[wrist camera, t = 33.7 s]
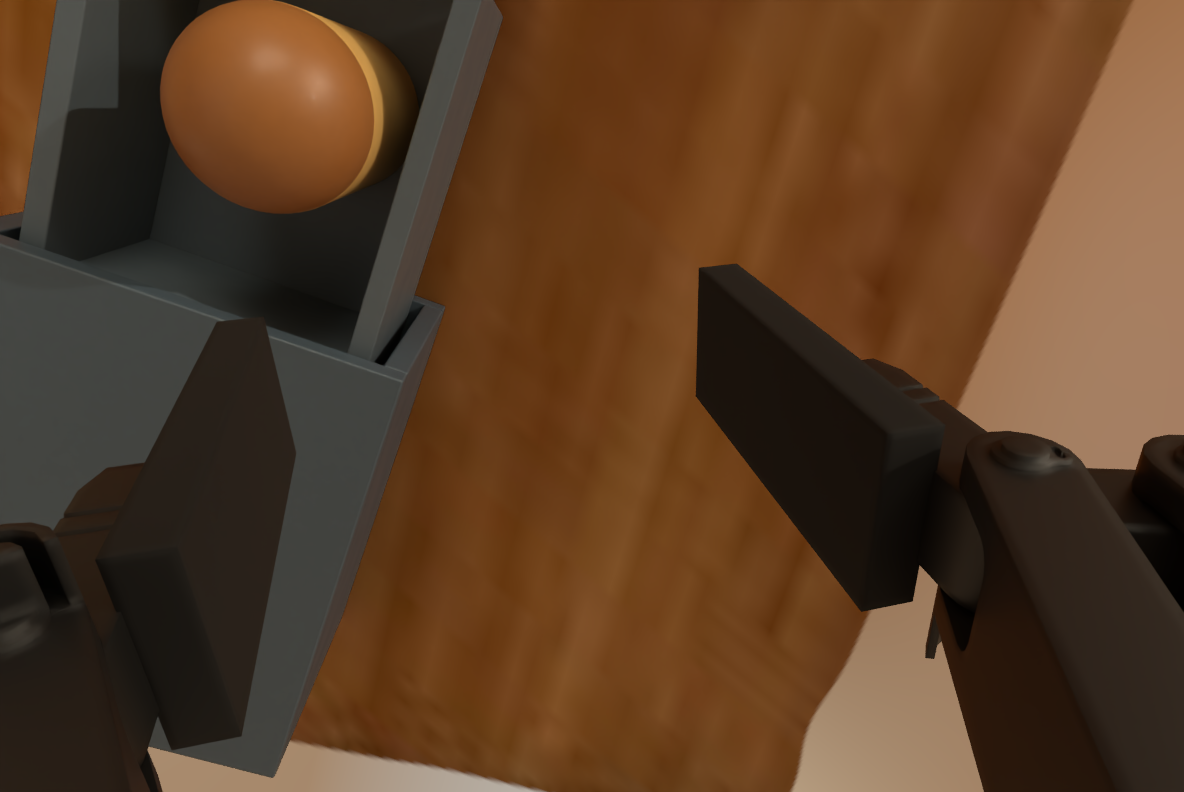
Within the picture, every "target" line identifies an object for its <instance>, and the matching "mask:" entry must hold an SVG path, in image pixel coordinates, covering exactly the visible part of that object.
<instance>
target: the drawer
mask: <svg viewBox="0 0 1184 792" xmlns="http://www.w3.org/2000/svg"><path fill="white" fill-rule="evenodd" d="M234 1H238V0H57V2H56V9H55V15H54V22H53V28H52V34H51V41H50V47H49V53H48V60H47V66H46V73H45V79H44V85H43V92H42V98H41V104H40V111H39V117H38V124H37V130H36V136H35V143H34V149H33V155H32V162H31V168H30V175H29V181H28V187H27V194H26V200H25V207H24V213H23V219H22V226H21V232H20V238H19V241H21V242H24V243H27V244H30V245H33V246H35V247H38V248H41V249H44V250H47V251H50V252H53V253H56V254H59V255H62V256H65V257H68V258H70V259H73V260H76V261H79V262H82V263H85V264H88V265H91V266H94V267H97V268H100V269H103V270H105V271H108V272H111V273H114V274H117V275H120V276H123V277H126V278H129V279H132V280H135V281H138V282H141V283H143V284H146V285H149V286H152V287H155V288H158V289H161V290H164V291H167V292H170V293H173V294H176V295H178V296H181V297H184V298H187V299H190V300H193V301H196V302H199V303H202V304H205V305H208V306H211V307H213V308H216V309H219V310H222V311H225V312H228V313H231V314H234V315H237V316H240V317H243V318H254V317H263V316H264V320H265V324H266V326H269V327H272V328H275V329H278V330H281V331H284V332H286V333H289V334H292V335H295V336H298V337H301V338H304V339H307V340H310V341H313V342H316V343H319V344H321V345H324V346H327V347H330V348H333V349H336V350H339V351H342V352H345V353H348V354H351V355H354V356H357V357H359V358H362V359H365V360H368V361H371V362H374V363H377V364H380V365H383V363H384V362H385V360H386V359H387V357H388V356H389V354H390V353H391V351H392V350H393V348H394V347H395V345H396V344H397V342H398V341H399V339H400V338H401V335H402V332H403V329H404V325H405V322H406V319H407V316H408V313H409V310H410V307H411V304H412V300H413V297H414V294H415V291H416V288H417V285H418V282H419V279H420V275H421V272H422V269H423V266H424V263H425V260H426V257H427V254H428V251H429V247H430V244H431V241H432V238H433V235H434V232H435V229H436V226H437V222H438V219H439V216H440V213H441V210H442V207H443V204H444V201H445V197H446V194H447V191H448V188H449V185H450V182H451V179H452V176H453V172H454V169H455V166H456V163H457V160H458V157H459V154H460V151H461V147H462V144H463V141H464V138H465V135H466V132H467V129H468V126H469V122H470V119H471V116H472V113H473V110H474V107H475V104H476V101H477V97H478V94H479V91H480V88H481V85H482V82H483V79H484V76H485V72H486V69H487V66H488V63H489V60H490V57H491V54H492V51H493V47H494V44H495V41H496V38H497V35H498V32H499V29H500V26H501V23H502V19H503V16H502V14H501V12H500V11H499V9H498V7H497V5H496V4H495V2H494V0H273V1H279V2H284V3H287V4H290V5H293V6H296V7H299V8H301V9H304V10H307V11H309V12H312V13H314V14H317V15H319V16H322V17H324V18H327V19H330V20H332V21H335V22H337V23H340V24H342V25H345V26H348V27H350V28H353V29H355V30H358V31H360V32H363V33H365V34H367V35H369V36H371V37H373V38H375V39H376V40H378V41H379V42H381V43H382V44H383V45H385V46H386V47H387V48H388V49H390V50H391V51H392V53H393V54H394V55H395V56H396V57H397V58H398V59H399V60H400V62H401V63H402V64H403V66H404V67H405V69H406V71H407V72H408V74H409V76H410V78H411V81H412V83H413V85H414V88H415V91H416V95H417V100H418V106H419V115H418V119H417V122H416V125H415V129H414V132H413V135H412V139H411V142H410V145H409V149H408V152H407V155H406V159H405V161H404V163H403V164H402V165H401V166H400V167H399V168H398V169H397V170H396V171H395V172H394V173H393V174H392V175H390V176H389V177H387V178H386V179H384V180H382V181H381V182H378V183H376V184H373V185H371V186H369V187H366V188H364V189H361V190H359V191H357V192H354V193H352V194H349V195H347V196H345V197H342V198H340V199H337V200H335V201H333V202H330V203H328V204H325V205H323V206H320V207H318V208H316V209H313V210H309V211H305V212H299V213H291V214H273V213H267V212H260V211H256V210H253V209H249V208H245V207H242V206H240V205H238V204H235V203H233V202H231V201H229V200H227V199H225V198H223V197H222V196H220V195H218V194H217V193H216V192H214V191H213V190H211V189H210V188H209V187H207V186H206V185H205V184H204V183H203V182H201V181H200V180H199V179H198V178H197V177H196V176H195V175H194V174H193V173H192V172H191V170H190V169H189V168H188V167H187V166H186V165H185V163H184V162H183V160H182V159H181V158H180V156H179V155H178V153H177V151H176V149H175V148H174V146H173V144H172V142H171V140H170V137H169V135H168V132H167V130H166V127H165V123H164V119H163V116H162V109H161V102H160V85H161V76H162V71H163V67H164V63H165V61H166V58H167V56H168V53H169V51H170V49H171V47H172V46H173V44H174V42H175V40H176V39H177V38H178V36H179V35H180V34H181V33H182V32H183V30H184V29H185V28H186V27H187V26H188V25H189V24H190V23H191V22H192V21H194V20H195V19H196V18H197V17H199V16H200V15H202V14H203V13H205V12H206V11H208V10H210V9H213V8H215V7H217V6H219V5H223V4H226V3H230V2H234Z"/></svg>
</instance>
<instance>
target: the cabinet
mask: <svg viewBox="0 0 1184 792" xmlns="http://www.w3.org/2000/svg"><path fill="white" fill-rule="evenodd" d="M23 213H24V212H20V213H15V214H10V215H5V216H0V525H2V524H8V523H27V522H32V523H36V524H40V525H44V526H48V527H50V528H51V529H52V531H53V530H54V528H55V527H56V525H57V523H58V522H59V520H60V519H62V518H64V515H63V514H64V512H65V510H66V509H67V507H68V506H69V504H70V502H71V501H72V499H73V498H74V496H75V494H76V493H77V491H78V490H79V489H80V488H82V487H83V486H84V485H85V484H87V483H88V482H89V481H91V480H92V479H93V478H94V477H96V476H97V475H98V474H99V473H101V472H102V471H103V470H105V469H106V468H108V467H116V466H123V465H130V464H137V463H144V462H145V461H146V459H147V457H148V455H149V453H150V451H151V449H152V447H153V445H154V444H155V442H156V440H157V438H158V436H159V434H160V432H161V430H162V428H163V426H164V424H165V422H166V420H167V418H168V416H169V414H170V412H171V410H172V408H173V406H174V404H175V402H176V401H177V399H178V397H179V395H180V393H181V391H182V389H183V387H184V385H185V383H186V381H187V379H188V377H189V375H190V373H191V371H192V369H193V367H194V365H195V363H196V361H197V360H198V358H199V356H200V354H201V352H202V350H203V348H204V346H205V344H206V342H207V340H208V338H209V336H210V334H211V332H212V330H213V328H214V326H215V324H216V322H219V321H228V320H237V319H245V318H243V317H240V316H237V315H234V314H231V313H228V312H225V311H222V310H219V309H216V308H213V307H211V306H208V305H205V304H202V303H199V302H196V301H193V300H190V299H187V298H184V297H181V296H178V295H176V294H173V293H170V292H167V291H164V290H161V289H158V288H155V287H152V286H149V285H146V284H143V283H141V282H138V281H135V280H132V279H129V278H126V277H123V276H120V275H117V274H114V273H111V272H108V271H105V270H103V269H100V268H97V267H94V266H91V265H88V264H85V263H82V262H79V261H76V260H73V259H70V258H68V257H65V256H62V255H59V254H56V253H53V252H50V251H47V250H44V249H41V248H38V247H35V246H33V245H30V244H27V243H24V242H21V241H19V238H20V232H21V226H22V219H23ZM444 310H445V306H443V305H440V304H437V303H435V302H432V301H429V300H426V299H423V298H421V297H418V296H415V295H414V297H413V300H412V304H411V307H410V310H409V313H408V316H407V319H406V322H405V325H404V329H403V332H402V335H401V338H400V339H399V341H398V342H397V344H396V345H395V347H394V348H393V350H392V351H391V353H390V354H389V356H388V357H387V359H386V360H385V362H384V363H383V365H380V364H377V363H374V362H371V361H368V360H365V359H362V358H359V357H357V356H354V355H351V354H348V353H345V352H342V351H339V350H336V349H333V348H330V347H327V346H324V345H321V344H319V343H316V342H313V341H310V340H307V339H304V338H301V337H298V336H295V335H292V334H289V333H286V332H284V331H281V330H278V329H275V328H272V327H269V326H266V328H267V332H268V336H269V341H270V345H271V349H272V353H273V357H274V361H275V366H276V370H277V374H278V378H279V382H280V386H281V391H282V395H283V399H284V403H285V407H286V412H287V416H288V420H289V424H290V428H291V432H292V437H293V441H294V445H295V449H296V458H295V463H294V468H293V473H292V478H291V484H290V489H289V494H288V499H287V504H286V509H285V515H284V520H283V525H282V530H281V535H280V541H279V546H278V551H277V556H276V561H275V566H274V572H273V577H272V582H271V587H270V592H269V597H268V603H267V608H266V613H265V618H264V623H263V628H262V634H261V639H260V644H259V649H258V654H257V659H256V665H255V670H254V675H253V680H252V685H251V690H250V696H249V701H248V706H247V711H246V716H245V721H244V727H243V732H242V736H241V737H236V738H231V739H226V740H221V741H216V742H211V743H206V744H201V745H196V746H191V747H186V748H181V749H176V750H171V748H170V745H169V743H168V740H167V738H166V735H165V733H164V731H163V728H162V726H161V723H160V721H159V718H158V717H157V720H156V724H155V727H154V730H153V733H152V736H151V740H150V743H149V747H153V748H157V749H160V750H164V751H168V752H173V753H176V754H180V755H184V756H188V757H192V758H196V759H200V760H204V761H208V762H212V763H216V764H220V765H223V766H227V767H231V768H235V769H239V770H243V771H247V772H251V773H255V774H259V775H263V776H267V777H271V778H273V777H274V776H275V774H276V772H277V769H278V767H279V765H280V762H281V759H282V758H283V755H284V753H285V751H286V748H287V746H288V744H289V741H290V739H291V736H292V734H293V732H294V729H295V727H296V725H297V722H298V720H299V717H300V715H301V713H302V710H303V708H304V706H305V703H306V701H307V699H308V696H309V694H310V691H311V689H312V687H313V684H314V682H315V680H316V677H317V675H318V672H319V670H320V668H321V665H322V663H323V661H324V658H325V656H326V654H327V651H328V649H329V646H330V644H331V642H332V639H333V637H334V635H335V632H336V630H337V627H338V625H339V623H340V620H341V618H342V615H343V612H344V609H345V606H346V603H347V600H348V597H349V594H350V591H351V588H352V585H353V582H354V579H355V576H356V573H357V570H358V567H359V564H360V561H361V558H362V555H363V552H364V549H365V546H366V543H367V540H368V537H369V534H370V531H371V528H372V525H373V522H374V519H375V516H376V514H377V511H378V508H379V505H380V502H381V499H382V496H383V493H384V490H385V487H386V484H387V481H388V478H389V475H390V472H391V469H392V466H393V463H394V460H395V457H396V454H397V451H398V448H399V445H400V442H401V439H402V436H403V433H404V430H405V427H406V424H407V421H408V418H409V415H410V412H411V409H412V406H413V403H414V400H415V397H416V394H417V391H418V388H419V385H420V382H421V379H422V376H423V373H424V370H425V367H426V364H427V361H428V358H429V355H430V352H431V349H432V346H433V343H434V340H435V337H436V334H437V331H438V328H439V325H440V322H441V319H442V316H443V313H444Z"/></svg>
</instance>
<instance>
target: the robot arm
mask: <svg viewBox="0 0 1184 792" xmlns="http://www.w3.org/2000/svg"><path fill="white" fill-rule="evenodd" d="M696 397H697V398H698V400H699V401H700V402H701V403H702V405H703V406H704V407H705V409H706V410H707V411H708V413H709V414H710V415H711V417H712V418H713V419H714V420H715V422H716V423H717V424H718V426H719V427H720V428H721V430H722V431H723V432H724V433H725V435H726V436H727V437H728V439H729V440H730V441H731V443H732V444H733V445H734V446H735V448H736V449H737V450H738V452H739V453H740V454H741V456H742V457H743V458H744V459H745V461H746V462H747V463H748V465H749V466H750V467H751V469H752V470H753V471H754V473H755V474H756V475H757V476H758V478H759V479H760V480H761V482H762V483H763V484H764V486H765V487H766V488H767V489H768V491H769V492H770V493H771V495H772V496H773V497H774V499H775V500H776V501H777V502H778V504H779V505H780V506H781V508H782V509H783V510H784V512H785V513H786V514H787V515H788V517H789V518H790V519H791V521H792V522H793V523H794V525H795V526H796V527H797V529H798V530H799V531H800V532H801V534H802V535H803V536H804V538H805V539H806V540H807V542H808V543H809V544H810V545H811V547H812V548H813V549H814V551H815V552H816V553H817V555H818V556H819V557H820V558H821V560H822V561H823V562H824V564H825V565H826V566H827V568H828V569H829V570H830V571H831V573H832V574H833V575H834V577H835V578H836V579H837V581H838V582H839V583H840V585H841V586H842V587H843V588H844V590H845V591H846V592H847V594H848V595H849V596H850V598H851V599H852V600H853V601H854V603H855V604H856V605H857V607H858V608H859V609H860V611H861V612H862V611H867V610H872V609H877V608H882V607H887V606H892V605H897V604H902V603H907V602H912V601H913V597H914V591H915V586H916V580H917V575H918V570H919V565H920V566H921V567H922V568H923V569H924V570H925V571H926V572H927V573H928V574H929V575H930V576H931V578H932V579H933V580H934V581H935V582H936V583H937V584H938V588H937V593H936V598H935V603H934V608H933V613H932V618H931V623H930V628H929V633H928V638H927V642H926V657H925V658H931V659H934V657H935V653H936V647H937V645H938V644H939V643H940V642H941V641H942V644H943V647H944V651H945V654H946V658H947V662H948V665H949V669H950V672H951V676H952V679H953V683H954V687H955V690H956V694H957V697H958V701H959V704H960V708H961V711H962V715H963V719H964V721H965V725H966V729H967V733H968V736H969V740H970V743H971V746H972V750H973V754H974V757H975V761H976V765H977V768H978V772H979V775H980V779H981V782H982V786H983V790H984V792H1184V435H1165V436H1160V437H1155V438H1152V439H1150V440H1149V441H1148V442H1147V443H1145V444H1144V446H1143V449H1142V452H1141V455H1140V458H1139V461H1138V464H1137V467H1136V470H1124V469H1092V468H1086V467H1085V466H1084V464H1083V463H1082V461H1081V460H1080V459H1079V458H1078V457H1077V456H1076V455H1075V454H1073V453H1072V451H1070V450H1069V449H1067V448H1065V447H1064V446H1061V445H1059V444H1058V443H1056V442H1054V441H1052V440H1048V439H1045V438H1042V437H1038V436H1035V435H1032V434H1026V433H1019V432H1011V431H1002V432H986V431H985V430H984V429H982V428H981V427H980V426H978V425H977V424H976V423H974V422H973V421H971V420H970V419H969V418H967V417H966V416H965V415H963V414H962V413H960V412H959V411H958V410H956V409H955V408H954V407H952V406H951V405H950V404H948V403H947V402H945V401H944V400H939V396H937V395H936V394H935V393H933V392H932V391H930V390H929V389H928V388H923V385H922V384H921V383H919V382H918V381H917V380H915V379H914V378H913V377H911V376H910V375H909V374H907V373H906V372H904V371H903V370H901V369H899V368H896V367H893V366H891V365H888V364H886V363H883V362H881V361H878V360H875V359H867V360H861V359H859V358H858V357H857V356H855V355H854V354H853V353H851V352H850V351H849V350H848V349H846V348H845V347H844V346H842V345H841V344H840V343H839V342H837V341H836V340H835V339H833V338H832V337H831V336H829V335H828V334H827V333H826V332H824V331H823V330H822V329H820V328H819V327H818V326H817V325H815V324H814V323H813V322H811V321H810V320H809V319H808V318H806V317H805V316H804V315H802V314H801V313H800V312H798V311H797V310H796V309H795V308H793V307H792V306H791V305H789V304H788V303H787V302H786V301H784V300H783V299H782V298H780V297H779V296H778V295H777V294H775V293H774V292H773V291H771V290H770V289H769V288H767V287H766V286H765V285H764V284H762V283H761V282H760V281H758V280H757V279H756V278H755V277H753V276H752V275H751V274H749V273H748V272H747V271H745V270H744V269H743V268H742V267H740V266H739V265H738V264H730V265H721V266H712V267H703V268H699V288H698V331H697V373H696ZM295 458H296V449H295V445H294V441H293V437H292V432H291V428H290V424H289V420H288V416H287V412H286V407H285V403H284V399H283V395H282V391H281V386H280V382H279V378H278V374H277V370H276V366H275V361H274V357H273V353H272V349H271V345H270V341H269V336H268V332H267V328H266V324H265V320H264V316H263V317H254V318H245V319H237V320H228V321H219V322H216V324H215V326H214V328H213V330H212V332H211V334H210V336H209V338H208V340H207V342H206V344H205V346H204V348H203V350H202V352H201V354H200V356H199V358H198V360H197V361H196V363H195V365H194V367H193V369H192V371H191V373H190V375H189V377H188V379H187V381H186V383H185V385H184V387H183V389H182V391H181V393H180V395H179V397H178V399H177V401H176V402H175V404H174V406H173V408H172V410H171V412H170V414H169V416H168V418H167V420H166V422H165V424H164V426H163V428H162V430H161V432H160V434H159V436H158V438H157V440H156V442H155V444H154V445H153V447H152V449H151V451H150V453H149V455H148V457H147V459H146V461H145V462H144V463H137V464H130V465H123V466H116V467H108V468H106V469H105V470H103V471H102V472H101V473H99V474H98V475H97V476H96V477H94V478H93V479H92V480H91V481H89V482H88V483H87V484H85V485H84V486H83V487H82V488H80V489H79V490H78V491H77V493H76V494H75V496H74V498H73V499H72V501H71V502H70V504H69V506H68V507H67V509H66V510H65V512H64V514H63V515H64V518H62V519H60V520H59V522H58V523H57V525H56V527H55V528H54V530H53V531H52V529H51V528H50V527H48V526H44V525H40V524H36V523H32V522H27V523H8V524H2V525H0V792H162V788H161V785H160V781H159V778H158V774H157V772H156V769H155V767H154V765H153V763H152V760H151V758H150V755H149V753H148V751H147V749H148V746H149V743H150V740H151V736H152V733H153V730H154V727H155V724H156V720H157V717H158V718H159V721H160V723H161V726H162V728H163V731H164V733H165V735H166V738H167V740H168V743H169V745H170V748H171V750H176V749H181V748H186V747H191V746H196V745H201V744H206V743H211V742H216V741H221V740H226V739H231V738H236V737H241V736H242V732H243V727H244V721H245V716H246V711H247V706H248V701H249V696H250V690H251V685H252V680H253V675H254V670H255V665H256V659H257V654H258V649H259V644H260V639H261V634H262V628H263V623H264V618H265V613H266V608H267V603H268V597H269V592H270V587H271V582H272V577H273V572H274V566H275V561H276V556H277V551H278V546H279V541H280V535H281V530H282V525H283V520H284V515H285V509H286V504H287V499H288V494H289V489H290V484H291V478H292V473H293V468H294V463H295Z"/></svg>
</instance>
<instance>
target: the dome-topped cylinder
mask: <svg viewBox="0 0 1184 792" xmlns="http://www.w3.org/2000/svg"><path fill="white" fill-rule="evenodd" d="M160 102H161V109H162V116H163V119H164V123H165V127H166V130H167V132H168V135H169V137H170V140H171V142H172V144H173V146H174V148H175V149H176V151H177V153H178V155H179V156H180V158H181V159H182V160H183V162H184V163H185V165H186V166H187V167H188V168H189V169H190V170H191V172H192V173H193V174H194V175H195V176H196V177H197V178H198V179H199V180H200V181H201V182H203V183H204V184H205V185H206V186H207V187H209V188H210V189H211V190H213V191H214V192H216V193H217V194H218V195H220V196H222V197H223V198H225V199H227V200H229V201H231V202H233V203H235V204H238V205H240V206H242V207H245V208H249V209H253V210H256V211H260V212H267V213H273V214H291V213H299V212H305V211H309V210H313V209H316V208H318V207H320V206H323V205H325V204H328V203H330V202H333V201H335V200H337V199H340V198H342V197H345V196H347V195H349V194H352V193H354V192H357V191H359V190H361V189H364V188H366V187H369V186H371V185H373V184H376V183H378V182H381V181H382V180H384V179H386V178H387V177H389V176H390V175H392V174H393V173H394V172H395V171H396V170H397V169H398V168H399V167H400V166H401V165H402V164H403V163H404V161H405V159H406V155H407V152H408V149H409V145H410V142H411V139H412V135H413V132H414V129H415V125H416V122H417V119H418V115H419V106H418V100H417V95H416V91H415V88H414V85H413V83H412V81H411V78H410V76H409V74H408V72H407V71H406V69H405V67H404V66H403V64H402V63H401V62H400V60H399V59H398V58H397V57H396V56H395V55H394V54H393V53H392V51H391V50H390V49H388V48H387V47H386V46H385V45H383V44H382V43H381V42H379V41H378V40H376V39H375V38H373V37H371V36H369V35H367V34H365V33H363V32H360V31H358V30H355V29H353V28H350V27H348V26H345V25H342V24H340V23H337V22H335V21H332V20H330V19H327V18H324V17H322V16H319V15H317V14H314V13H312V12H309V11H307V10H304V9H301V8H299V7H296V6H293V5H290V4H287V3H284V2H279V1H273V0H238V1H234V2H230V3H226V4H223V5H219V6H217V7H215V8H213V9H210V10H208V11H206V12H205V13H203V14H202V15H200V16H199V17H197V18H196V19H195V20H194V21H192V22H191V23H190V24H189V25H188V26H187V27H186V28H185V29H184V30H183V32H182V33H181V34H180V35H179V36H178V38H177V39H176V40H175V42H174V44H173V46H172V47H171V49H170V51H169V53H168V56H167V58H166V61H165V63H164V67H163V71H162V76H161V85H160Z"/></svg>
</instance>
